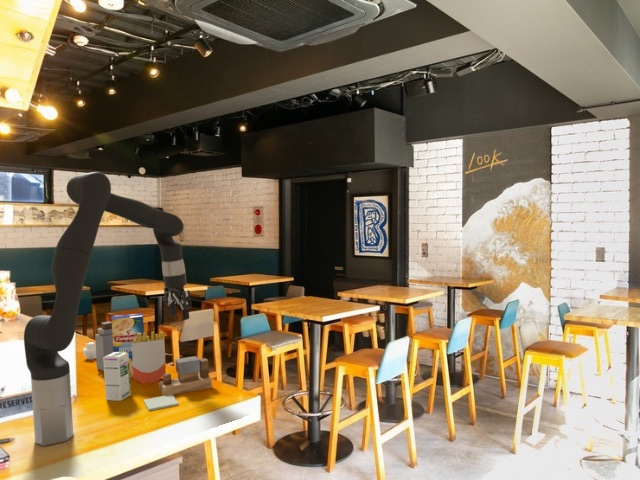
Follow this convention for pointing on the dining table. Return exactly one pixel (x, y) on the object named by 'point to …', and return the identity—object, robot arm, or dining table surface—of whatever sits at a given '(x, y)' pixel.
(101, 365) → the perfume bottle
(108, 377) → the syrup box
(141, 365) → the french fries container
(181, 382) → the body
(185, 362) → the lever cap
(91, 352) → the white lumpy round piece
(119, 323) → the cereal box
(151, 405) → the mat
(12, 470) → the dining table surface
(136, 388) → the dining table surface
